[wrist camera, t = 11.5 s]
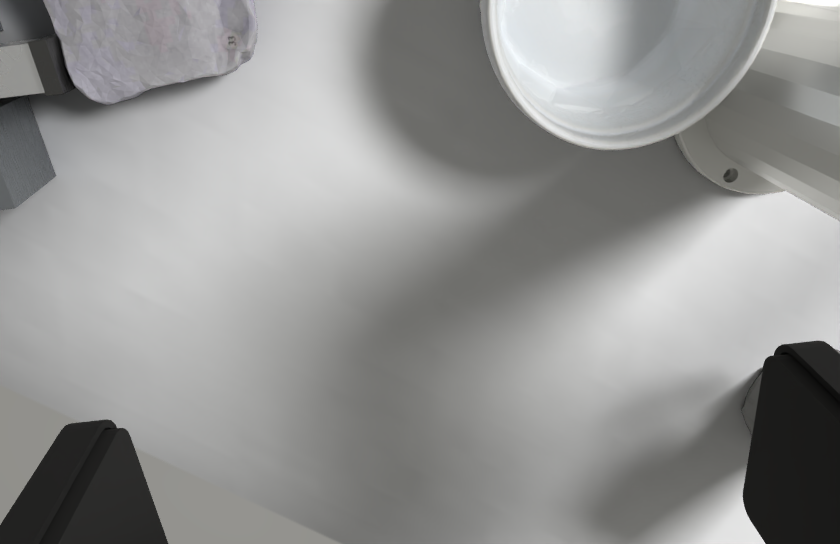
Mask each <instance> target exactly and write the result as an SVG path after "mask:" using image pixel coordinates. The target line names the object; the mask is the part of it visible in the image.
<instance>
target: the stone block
mask: <svg viewBox="0 0 840 544" xmlns="http://www.w3.org/2000/svg"><path fill="white" fill-rule="evenodd" d="M43 2H44V4H45V6H46V8H47V10H48V13H49V15H50V17H51V20H52V23H53V26H54V30H55V32H56V34H57V36H58V38H59V40H60V43H61V48H62V52H63V57H64V61H65V66H66V69H67V71H68V73H69V75H70V77H71V80H72V82H73V84H74V86H75V87H76V88H77V89H79V90H80V91H81V92H82V93H83V94H84V95H85V96H86V97H87V98H89V99H91V100H93V101H96V102H99V103H102V104H105V105H111V104H114V103H116V102H119V101H124V100H129V99H132V98H134V97H137V96H139V95H140V94H141V93H143V92H144V91H148V90H149V89H151V88H156V87H160V86H165V85H170V84H174V83H178V82H186V81H190V80H194V79H198V78H201V77H210V76H219V75H227V74H229V73H231V72H234V71H236V70H237V68H238V67H239V66H240V65H241V64H243V63H245V62H247V61H249V60H250V59H251V57H252V56H253V54H254V48H255V45H256V42H257V30H258V24H257V17H256V12H255V7H254V0H43Z"/></svg>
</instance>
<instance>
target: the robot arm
mask: <svg viewBox="0 0 840 544" xmlns="http://www.w3.org/2000/svg"><path fill="white" fill-rule="evenodd" d="M675 139H676V142H677V144H678V146H679V148H680V149H681V151H682V153H683V155H684V157H685V158H686V159H687V160H688V162H689V163H690V164H691V165H692V166H693V167H694V168H695V169H696V170H697V171H698V172H699V173H701V174H702V175H703V176H705V177H706V178H708V179H709V180H710V181H712V182H714V183H716V184H717V185H719V186H721V187H723V188H725V189H729V190H733V191H736V192H740V193H744V194H770V193H777V192H783V191H787V192H789V193H791V194H792V195H794V196H796V197H798V198H799V199H801V200H803V201H805V202H807V203H808V204H810V205H812V206H814V207H815V208H817V209H819V210H821V211H822V212H824V213H826V214H828V215H830V216H831V217H833V218H835V219H837V220H838V221H840V0H778V2H777V6H776V9H775V14H774V17H773V20H772V23H771V25H770V29H769V32H768V34H767V36H766V38H765V40H764V42H763V45H762V47H761V49H760V51H759V53H758V54H757V56H756V58H755V60H754V61H753V63H752V65H751V66H750V68H749V69H748V71H747V72H746V74H745V75H744V77H743V78H742V79H741V80H740V82H739V83H738V84H737V85H736V87H735V88H734V89H733V90H732V91H731V93H730V94H729V95H728V96H727V97H726V98H725V99H724V100H723V101H722V102H721V103H720V104H719V105H718V106H717V107H715V108H714V109H713V110H712V111H711V112H710V113H708V114H707V115H706V116H705V117H703V118H702V119H701V120H699V121H698V122H696V123H695V124H693V125H692V126H690V127H689V128H687V129H686V130H684V131H682V132H680V133H678V134H676V135H675ZM725 172H726V173H725ZM724 173H725V174H724ZM743 502H744V506H745V510H746V512H747V515H748V517H749V518H750V520H751V522H752V523H753V525H754V526H755V528H756V529H757V531H758V532H759V534H760V536H761V537H762V539H763V540H764V542H765V543H766V544H840V354H839V353H838V352H837V351H836V350H835V349H834V348H832V347H831V346H830V345H829V344H827V343H825V342H824V341H811V342H802V343H793V344H784V345H781V346H779V347H778V348H777V349H776V350H775V353H774V356H769V357H767V358H766V360H765V362H764V365H763V371H762V378H761V384H760V390H759V396H758V402H757V409H756V415H755V421H754V427H753V433H752V440H751V446H750V452H749V458H748V464H747V471H746V477H745V483H744V489H743ZM0 544H168V542H167V539H166V536H165V533H164V530H163V527H162V525H161V522H160V519H159V516H158V513H157V511H156V508H155V505H154V502H153V499H152V497H151V494H150V491H149V488H148V485H147V482H146V479H145V477H144V474H143V471H142V468H141V465H140V463H139V460H138V457H137V454H136V451H135V448H134V446H133V443H132V440H131V437H130V435H129V433H128V431H127V430H126V429H124V428H118V429H117V427H116V425H115V424H114V423H113V422H112V421H111V420H99V421H90V422H81V423H72V424H68V425H66V426H65V427H64V428H63V429H62V430H61V432H60V434H59V435H58V436H57V438H56V439H55V441H54V443H53V444H52V446H51V447H50V449H49V450H48V452H47V454H46V455H45V456H44V458H43V460H42V461H41V463H40V464H39V466H38V467H37V469H36V471H35V472H34V474H33V475H32V477H31V478H30V480H29V481H28V483H27V485H26V486H25V488H24V489H23V491H22V492H21V494H20V495H19V497H18V498H17V500H16V502H15V503H14V505H13V506H12V508H11V509H10V511H9V513H8V514H7V515H6V517H5V519H4V520H3V522H2V523H1V525H0Z"/></svg>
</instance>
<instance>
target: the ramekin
mask: <svg viewBox="0 0 840 544" xmlns="http://www.w3.org/2000/svg"><path fill="white" fill-rule="evenodd" d="M777 2H778V0H480V3H479V8H480V11H481V25H482V30H483V37H484V42H485V46H486V50H487V53H488V57H489V60H490V62H491V65H492V68H493V70H494V72H495V75H496V77H497V79H498V81H499V82H500V84H501V86H502V88H503V89H504V91H505V92H506V94H507V95H508V97H509V98H510V99H511V101H512V102H513V103H514V104H515V105H516V107H517V108H518V109H519V110H520V111H521V112H522V113H523V114H524V115H525V116H526V117H528V118H529V119H530V120H531V121H532V122H534V123H535V124H536V125H538V126H539V127H540V128H542V129H543V130H545V131H546V132H548V133H550V134H551V135H553V136H555V137H557V138H559V139H561V140H563V141H565V142H568V143H571V144H573V145H577V146H580V147H585V148H589V149H597V150H626V149H633V148H638V147H643V146H646V145H650V144H653V143H656V142H659V141H662V140H664V139H667V138H669V137H672V136H674V135H676V134H678V133H680V132H682V131H684V130H686V129H687V128H689V127H690V126H692V125H693V124H695V123H696V122H698V121H699V120H701V119H702V118H703V117H705V116H706V115H707V114H708V113H710V112H711V111H712V110H713V109H714V108H715V107H717V106H718V105H719V104H720V103H721V102H722V101H723V100H724V99H725V98H726V97H727V96H728V95H729V94H730V93H731V91H732V90H733V89H734V88H735V87H736V85H737V84H738V83H739V82H740V80H741V79H742V78H743V77H744V75H745V74H746V72H747V71H748V69H749V68H750V66H751V65H752V63H753V61H754V60H755V58H756V56H757V54H758V53H759V51H760V49H761V47H762V45H763V42H764V40H765V38H766V36H767V34H768V32H769V29H770V25H771V23H772V20H773V17H774V14H775V9H776V6H777Z"/></svg>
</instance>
